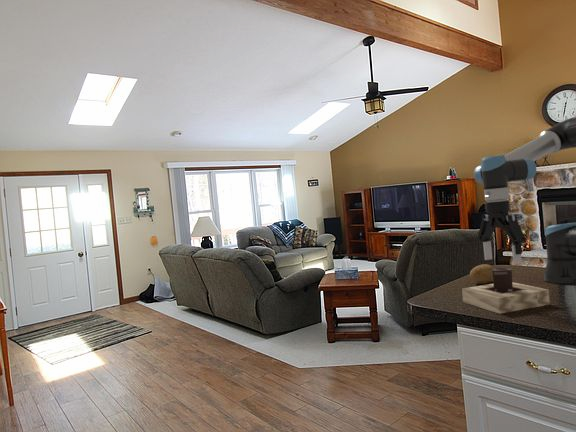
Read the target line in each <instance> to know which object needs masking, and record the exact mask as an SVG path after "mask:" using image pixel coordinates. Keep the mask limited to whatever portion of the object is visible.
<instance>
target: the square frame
mask: <svg viewBox="0 0 576 432" xmlns="http://www.w3.org/2000/svg"><path fill="white" fill-rule="evenodd" d="M512 286H513V291H512V292H506V293H500V292H496V291H494V284H493V283H488V284H483V285H482V284H480V285H478V286H477V285H476V286H471V287H469V286H468V287H464V288H462V289H461V292H462V293H461V294H462V303H464V304H467V305H470V306H472V307H473V306H474V307H477V308H480V309H482V310H487V311H489V312H492V313H496V314H507V313H511V312H517V311H521V310H526V309H532V308H533V309H534V308H538V307H544V306H550V305H551V304H550V301H551V300H550V290H549V289H548V288H542V287H539V286H538V287H537V286H533V285H527V284H523V283H518V282H513V281H512Z"/></svg>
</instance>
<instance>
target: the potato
mask: <svg viewBox="0 0 576 432" xmlns="http://www.w3.org/2000/svg"><path fill="white" fill-rule="evenodd" d="M493 268H494V267H492V265H490V264H488V263H485V264H484V263H483V264H480V265H476V266H474V267H473V268H472V269H471V270H470V272H469V277H470V279H471V280H472V281H473V282H475V283H477V284H480V285H482V284H483V285H488V284H490V283H491V282H493Z"/></svg>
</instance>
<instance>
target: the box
mask: <svg viewBox="0 0 576 432" xmlns="http://www.w3.org/2000/svg"><path fill="white" fill-rule="evenodd" d="M512 270H513V269H512V268H511V267H510V268H507V267H504V268H503V267H501V268H500V267H499V268H497V267H496V268H495V267H493V280H492V282H493V283H492V284H494V291H496V292H500V293H506V292H512V291H513V286H512V282H513V271H512Z"/></svg>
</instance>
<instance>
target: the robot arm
mask: <svg viewBox="0 0 576 432" xmlns="http://www.w3.org/2000/svg"><path fill="white" fill-rule="evenodd" d="M574 148H575V149H576V116H575V117H571V118H568V119H565V120H562V121H561V122H559V123H556V124H555V125H553V126H552V127H550V128H548V129H546V130H544V131H542V132H541V133H540V134H539V135H538V137H536V138H534V139H532V140H531V141H529V142H527V143H525V144H523V145H521V146H519V147H517V148H515V149H513V150H512V151H510V152H508V153H506V154H503V155H502V154H500V155H492V156H485V157H483V158H481V164H480V165H478V166H476V167H475V169H474V171H473V177H474V180H475V181H476V182H477V183H478V184H480V185H482V186H483V191H484V193H483V194H484V201H486V202H485V203H484V207H485V213H487V214H482V215H481V222H480V226H479V229H478V230H479V231H478V235H477V236H476V237H477V240H479V241H480V242H482V243H481V244H482V250H483V255H484V260H485V261H489V260H493V249H492V242H491V237H492V235H493V233H494V231H495V230H496V228H498V229H500V228H501V230H503V231H504V232H505V234H506V236H508V238H509V239H510V241H511V243H512V244H511V252H512V254H511V255H512V263H513V265H521V264H523V263H522V262H523V261H522V254H523V249H522V247H523V246H522V244H523V243H527V239H526V236H525V234H524V231H523V230H522V229H521V226H520V224H519V222H518V218H517V214H509V211H510V209H511V207H510V201H509V198H510V194H509V185H508V183H511V182H512V183H513V182H520V181H521V182H522V181H528V180H531V179H533V178H534V177H535V176H536V173H537V164H536V163H535V161H538V160H539V159H541V158H543V157H545V156H546V155H549V154H555V153H558V152H560V151H564V150H568V149H574ZM545 247H546V256H547V262H546V265H545V269H544V270H545V271H544V273H543V280H544V281H546V282H548V283H553V284H564V285H565V284H567V285H568V284H569V285H571V284H576V222H569V223H562V224H561V223H560V224H553V225H548V226H546V228H545Z"/></svg>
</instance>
